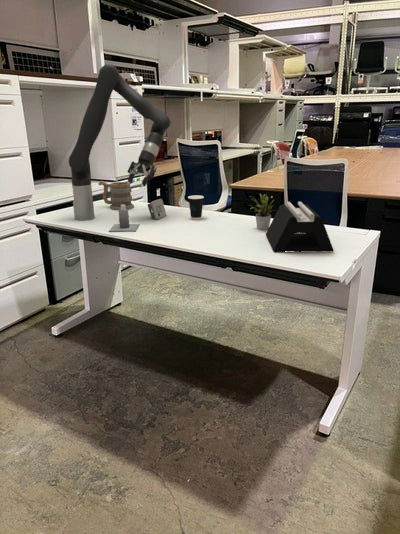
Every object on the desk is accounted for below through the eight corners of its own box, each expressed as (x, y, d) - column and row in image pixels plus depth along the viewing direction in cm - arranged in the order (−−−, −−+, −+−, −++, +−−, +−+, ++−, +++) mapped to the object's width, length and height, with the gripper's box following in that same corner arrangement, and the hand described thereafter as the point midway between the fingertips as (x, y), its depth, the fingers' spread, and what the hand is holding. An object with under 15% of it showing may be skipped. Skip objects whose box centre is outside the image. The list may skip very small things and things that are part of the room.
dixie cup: (203, 216, 214) (203, 195, 211) (204, 220, 207) (204, 198, 203) (187, 217, 214) (187, 195, 210) (188, 220, 206) (188, 198, 203)
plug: (117, 227, 193) (116, 205, 189) (124, 225, 197) (122, 203, 193) (125, 228, 191) (123, 206, 187) (131, 226, 194) (129, 204, 191)
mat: (109, 232, 188) (109, 230, 188) (114, 225, 200) (114, 224, 199) (135, 231, 188) (135, 230, 188) (139, 225, 199) (139, 223, 199)
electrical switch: (156, 220, 208) (154, 201, 206) (148, 220, 211) (146, 201, 208) (167, 216, 216) (164, 198, 213) (158, 216, 219) (156, 198, 216)
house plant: (241, 225, 196) (242, 190, 191) (269, 223, 199) (270, 189, 193) (251, 233, 183) (252, 196, 178) (280, 230, 186) (282, 194, 180)
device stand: (273, 253, 157) (275, 214, 152) (265, 236, 179) (267, 202, 173) (333, 252, 157) (336, 213, 152) (318, 236, 178) (321, 201, 173)
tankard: (137, 206, 241) (135, 180, 235) (126, 211, 230) (123, 183, 224) (107, 204, 247) (105, 178, 242) (95, 208, 236) (92, 182, 231)
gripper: (133, 147, 201) (120, 177, 198) (156, 151, 194) (143, 182, 192) (141, 155, 207) (129, 185, 205) (164, 159, 200) (151, 189, 198)
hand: (136, 183), depth 198 cm, fingers open, 8 cm apart
